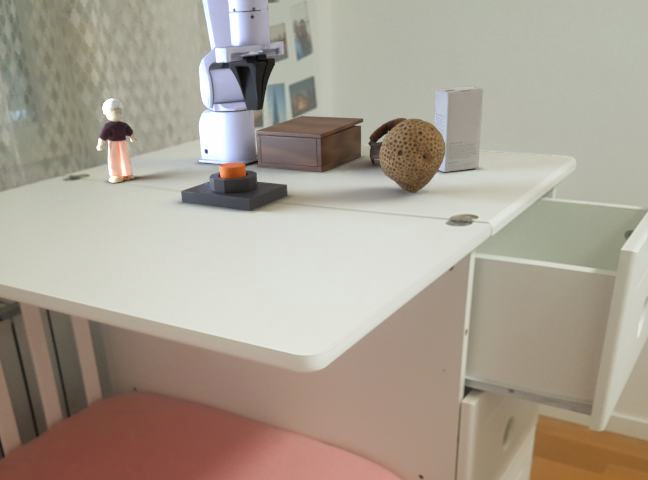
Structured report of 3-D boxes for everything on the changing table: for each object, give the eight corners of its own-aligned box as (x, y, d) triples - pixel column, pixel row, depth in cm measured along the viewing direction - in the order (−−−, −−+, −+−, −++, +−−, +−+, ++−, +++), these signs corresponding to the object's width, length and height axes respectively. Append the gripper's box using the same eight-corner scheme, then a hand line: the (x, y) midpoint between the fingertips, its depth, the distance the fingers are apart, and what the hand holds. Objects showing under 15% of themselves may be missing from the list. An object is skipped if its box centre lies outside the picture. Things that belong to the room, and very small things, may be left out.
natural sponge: (434, 202, 95) (437, 124, 90) (370, 198, 98) (370, 123, 94) (448, 186, 102) (452, 114, 98) (388, 183, 105) (389, 113, 101)
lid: (301, 119, 130) (301, 115, 130) (363, 122, 123) (363, 118, 123) (256, 134, 119) (255, 130, 119) (320, 138, 113) (320, 134, 112)
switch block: (182, 202, 101) (179, 178, 99) (221, 189, 108) (219, 165, 106) (250, 211, 95) (248, 185, 93) (287, 196, 101) (286, 171, 100)
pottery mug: (438, 171, 114) (417, 128, 109) (384, 197, 117) (361, 156, 113) (430, 139, 123) (411, 98, 118) (381, 164, 126) (359, 125, 122)
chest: (300, 152, 132) (299, 122, 129) (361, 156, 125) (361, 125, 123) (258, 166, 122) (256, 134, 119) (321, 172, 115) (320, 138, 113)
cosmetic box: (465, 164, 115) (470, 85, 110) (479, 169, 112) (485, 87, 106) (430, 168, 114) (433, 88, 109) (444, 173, 110) (448, 90, 105)
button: (215, 179, 99) (214, 166, 99) (230, 173, 102) (229, 161, 101) (235, 181, 98) (234, 168, 97) (251, 175, 100) (250, 163, 100)
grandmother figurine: (117, 184, 114) (105, 101, 108) (98, 183, 115) (86, 101, 110) (147, 174, 120) (137, 95, 114) (129, 173, 121) (118, 95, 116)
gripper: (241, 12, 96) (248, 117, 102) (299, 8, 107) (302, 104, 112) (200, 14, 99) (209, 115, 105) (260, 10, 110) (265, 103, 116)
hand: (254, 109), depth 109 cm, fingers closed
